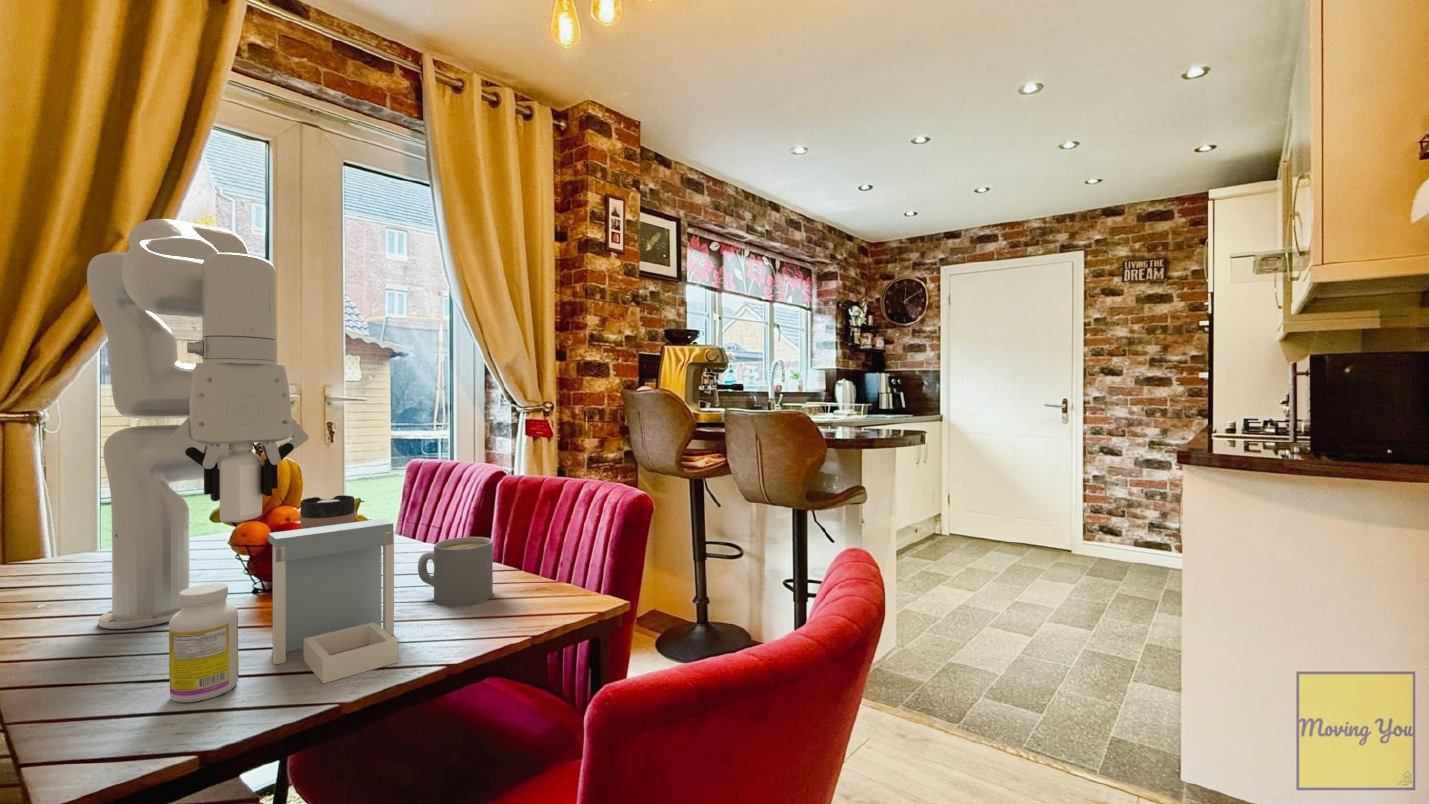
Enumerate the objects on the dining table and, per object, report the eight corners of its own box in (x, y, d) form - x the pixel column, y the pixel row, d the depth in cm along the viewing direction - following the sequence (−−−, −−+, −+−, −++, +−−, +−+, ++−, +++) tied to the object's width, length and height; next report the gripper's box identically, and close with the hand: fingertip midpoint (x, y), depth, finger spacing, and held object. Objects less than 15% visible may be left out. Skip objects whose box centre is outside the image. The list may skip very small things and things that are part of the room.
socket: (303, 660, 86) (303, 638, 86) (374, 642, 93) (374, 622, 93) (322, 683, 79) (322, 660, 79) (397, 662, 86) (397, 640, 86)
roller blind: (267, 653, 88) (267, 533, 88) (383, 625, 99) (383, 518, 99) (275, 664, 85) (274, 539, 85) (394, 634, 96) (393, 523, 96)
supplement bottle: (196, 680, 80) (196, 581, 80) (250, 678, 81) (250, 580, 81) (154, 706, 73) (153, 597, 73) (213, 704, 74) (213, 596, 74)
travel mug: (329, 631, 97) (329, 503, 96) (287, 627, 98) (287, 501, 98) (366, 614, 104) (366, 496, 104) (327, 611, 106) (327, 494, 105)
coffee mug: (503, 591, 117) (503, 538, 117) (468, 609, 107) (468, 551, 107) (444, 585, 121) (444, 534, 121) (405, 601, 111) (405, 545, 111)
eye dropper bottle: (276, 515, 81) (275, 423, 81) (230, 523, 75) (229, 425, 75) (252, 513, 82) (251, 423, 82) (205, 521, 77) (204, 424, 77)
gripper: (152, 348, 70) (153, 509, 70) (325, 355, 82) (326, 493, 82) (149, 352, 76) (150, 502, 76) (311, 358, 87) (312, 488, 87)
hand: (241, 496), depth 79 cm, fingers closed on eye dropper bottle, 4 cm apart
